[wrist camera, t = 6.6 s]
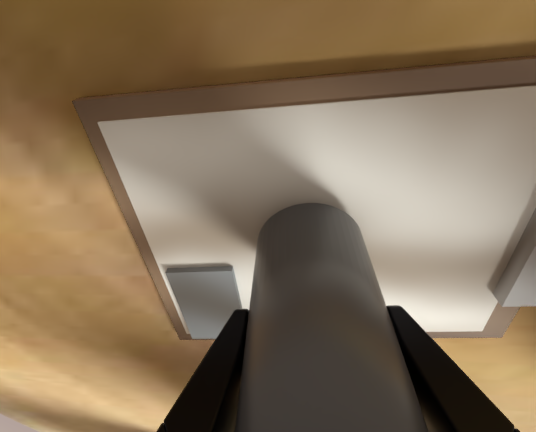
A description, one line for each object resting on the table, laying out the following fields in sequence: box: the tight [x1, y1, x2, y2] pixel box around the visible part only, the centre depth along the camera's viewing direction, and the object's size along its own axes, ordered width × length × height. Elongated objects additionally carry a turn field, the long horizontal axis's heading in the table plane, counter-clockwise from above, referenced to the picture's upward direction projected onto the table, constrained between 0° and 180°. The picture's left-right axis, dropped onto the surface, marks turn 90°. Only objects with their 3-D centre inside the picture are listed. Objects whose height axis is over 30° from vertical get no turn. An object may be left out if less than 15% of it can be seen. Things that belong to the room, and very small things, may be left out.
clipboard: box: [72, 56, 536, 340], centre depth 12 cm, size 13×17×1 cm
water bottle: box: [235, 203, 429, 432], centre depth 7 cm, size 4×4×10 cm
